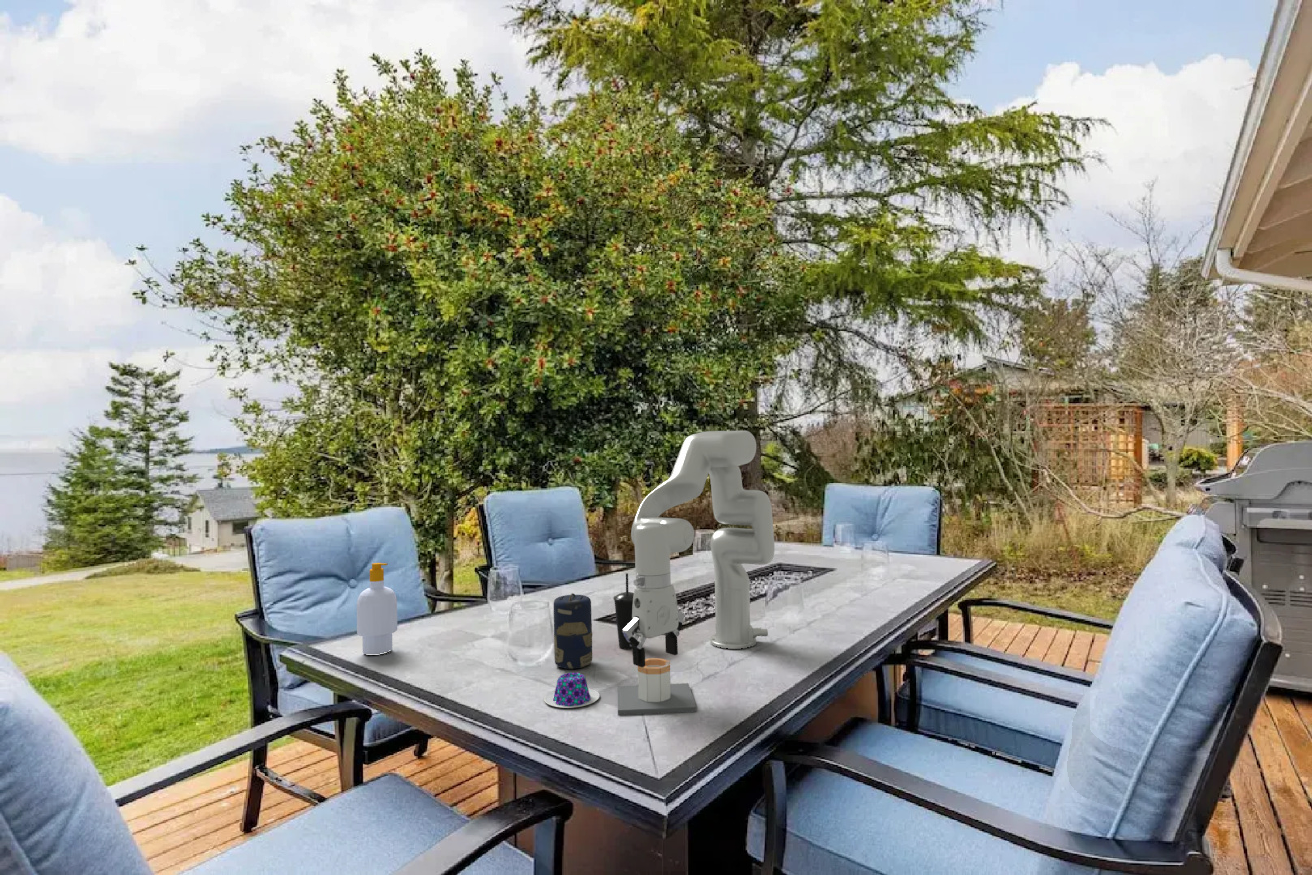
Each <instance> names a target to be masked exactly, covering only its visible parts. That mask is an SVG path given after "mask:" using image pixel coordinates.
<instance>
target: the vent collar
mask: <svg viewBox="0 0 1312 875" xmlns="http://www.w3.org/2000/svg"><path fill="white" fill-rule="evenodd" d="M637 680H638V682H637V685H638V695H639V699H641V700H644V701H646V702H660V701H661V702H662V701H664V700H667V699H670V694H671V693H670V684H671V661H670V660H668V659H665V658H660V657H657V658H656V657H649V658H645V667H640V666H637Z"/></svg>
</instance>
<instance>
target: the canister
mask: <svg viewBox="0 0 1312 875" xmlns="http://www.w3.org/2000/svg"><path fill="white" fill-rule="evenodd" d="M592 624H593V622H592V600H591V598H590V597H589V596H587V595H584V594H575V593H571V594H565V595H561V596H558V597H556V598H555V599H554V600H553V644H554V645H553V646H554V648H553V650H554V652H553V654H554V655H553V656H554V657H553V658H554V664H555V665H556V666H557V667H559V668H561V669H569V670H571V669H581V668H584V667H587V666H589V665H591V663H592V661H593V625H592Z"/></svg>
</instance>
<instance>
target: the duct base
mask: <svg viewBox="0 0 1312 875" xmlns="http://www.w3.org/2000/svg"><path fill="white" fill-rule="evenodd" d="M689 684H690V683H688V682H687V683H684V682H683V683H670V693H671V694H670V699H667V700H664V701H662V702H661V701H660V702H646V701H644V700H641V699H639V695H638V684H636V685H635V684H634V685H633V684H632V685H618V686H617V716H626V715H627V716H628V715H631V716H632V715H650V714H654V715H655V714H674V713H675V714H679V713H696V712H697V707H696V704H695V699H694V695H693V693H692V690H691V688H690V685H689Z"/></svg>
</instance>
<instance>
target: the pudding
mask: <svg viewBox="0 0 1312 875" xmlns="http://www.w3.org/2000/svg"><path fill="white" fill-rule="evenodd" d="M555 685H556V686H555V689H554V690H553V691H551V692H548V693H547V694H546V695H545V696H544V698H543V700H544V702H545V703H546V704H547V705H549V706H552V707H556V708H563V709H564V708H566V709H571V708H580V707H584V706H588V705H591V704H593V703H595V702H597V700H599V698H600V693H599V692H598V691H597V690H595V689H592V688H589V687H588V683H587V679H586V676H585V675H584V674H582V673H580V672H568V673H563V674H561V675H560V676H559V677H558V678H557V680H556V684H555ZM553 696H554V698H553V701H556V702H553V703H551V702H549V701H552V700H551V699H550V697H553ZM554 703H555V704H554Z"/></svg>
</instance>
